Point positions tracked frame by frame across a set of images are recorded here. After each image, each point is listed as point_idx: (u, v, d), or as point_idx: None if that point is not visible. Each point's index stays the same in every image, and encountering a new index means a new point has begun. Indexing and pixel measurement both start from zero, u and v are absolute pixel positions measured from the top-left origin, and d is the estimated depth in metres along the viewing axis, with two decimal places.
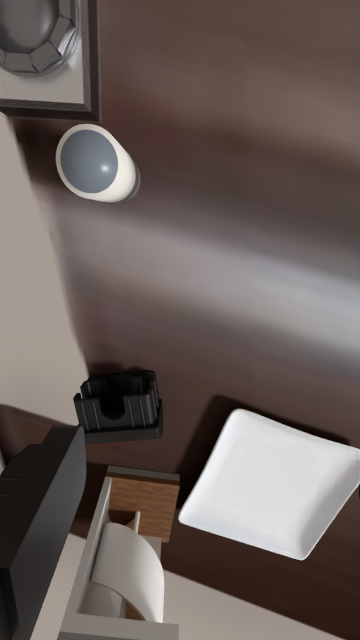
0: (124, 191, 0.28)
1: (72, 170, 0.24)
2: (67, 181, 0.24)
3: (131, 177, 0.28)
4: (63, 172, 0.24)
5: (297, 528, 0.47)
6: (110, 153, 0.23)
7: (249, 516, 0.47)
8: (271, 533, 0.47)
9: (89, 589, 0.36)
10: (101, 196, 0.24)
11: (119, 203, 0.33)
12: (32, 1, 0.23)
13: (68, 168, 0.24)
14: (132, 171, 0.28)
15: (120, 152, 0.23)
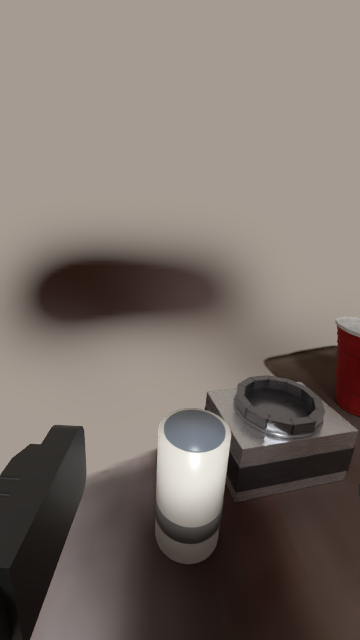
0: (176, 497, 0.21)
1: (181, 418, 0.23)
2: (169, 416, 0.23)
3: (195, 505, 0.21)
4: (176, 413, 0.24)
5: None
6: (211, 442, 0.21)
7: None
8: None
9: None
10: (164, 443, 0.21)
11: (157, 533, 0.24)
12: (285, 411, 0.31)
13: (181, 415, 0.23)
14: (203, 507, 0.21)
15: (217, 452, 0.20)
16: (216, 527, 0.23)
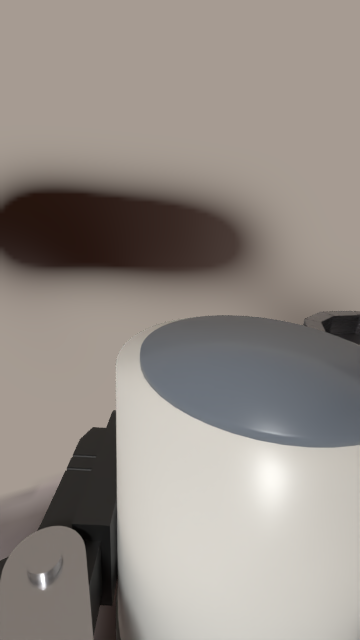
0: None
1: (205, 329, 0.07)
2: None
3: None
4: (187, 320, 0.07)
5: None
6: None
7: None
8: None
9: None
10: (136, 400, 0.04)
11: None
12: None
13: (206, 323, 0.07)
14: None
15: None
16: None
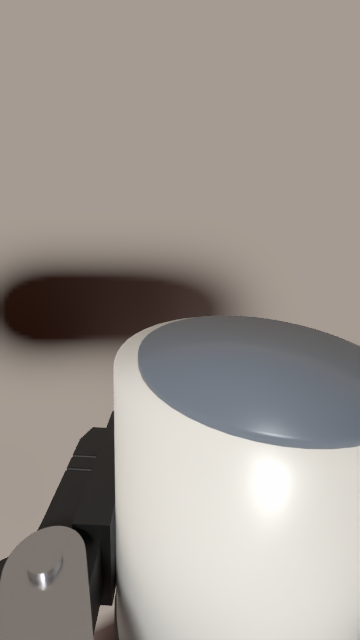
0: None
1: (204, 329, 0.07)
2: None
3: None
4: (186, 321, 0.07)
5: None
6: None
7: None
8: None
9: None
10: (133, 401, 0.04)
11: None
12: None
13: (205, 324, 0.07)
14: None
15: None
16: None
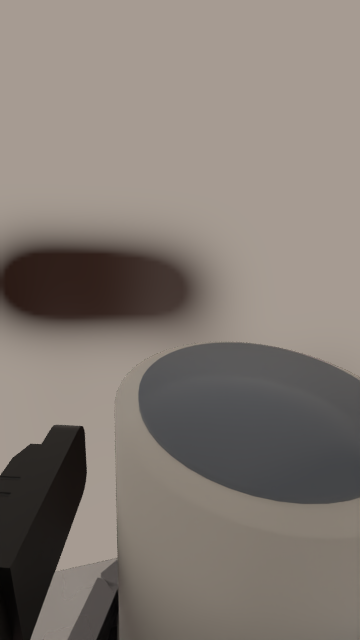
0: None
1: (203, 360, 0.07)
2: (163, 357, 0.07)
3: None
4: (185, 349, 0.07)
5: None
6: None
7: None
8: None
9: None
10: (134, 449, 0.04)
11: None
12: None
13: (204, 353, 0.07)
14: None
15: None
16: None
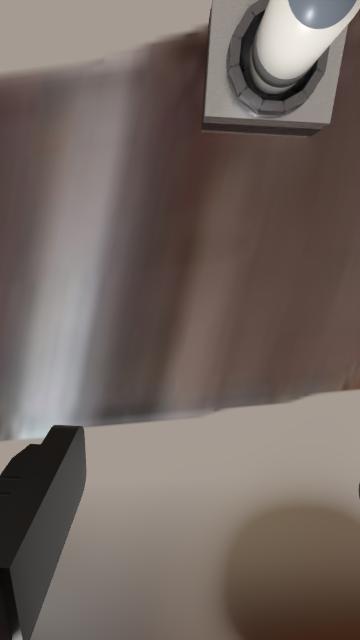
0: (273, 53, 0.22)
1: None
2: None
3: (287, 66, 0.23)
4: None
5: None
6: (331, 16, 0.19)
7: None
8: None
9: None
10: None
11: (249, 62, 0.27)
12: None
13: None
14: (293, 69, 0.23)
15: (330, 33, 0.19)
16: (299, 79, 0.26)
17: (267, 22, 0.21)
